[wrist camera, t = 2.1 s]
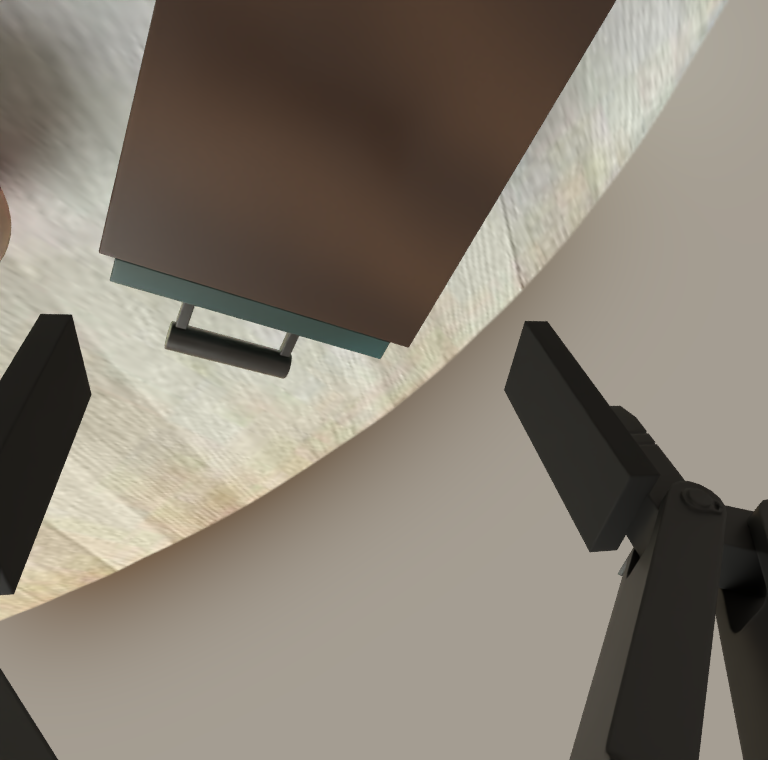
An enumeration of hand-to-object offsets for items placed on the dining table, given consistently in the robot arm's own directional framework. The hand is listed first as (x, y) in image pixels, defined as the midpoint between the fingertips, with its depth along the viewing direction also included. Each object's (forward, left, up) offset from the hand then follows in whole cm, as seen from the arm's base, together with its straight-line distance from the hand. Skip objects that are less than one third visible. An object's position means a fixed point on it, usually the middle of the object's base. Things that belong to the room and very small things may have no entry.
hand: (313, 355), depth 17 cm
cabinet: (+1, +5, -20) cm, 21 cm away
